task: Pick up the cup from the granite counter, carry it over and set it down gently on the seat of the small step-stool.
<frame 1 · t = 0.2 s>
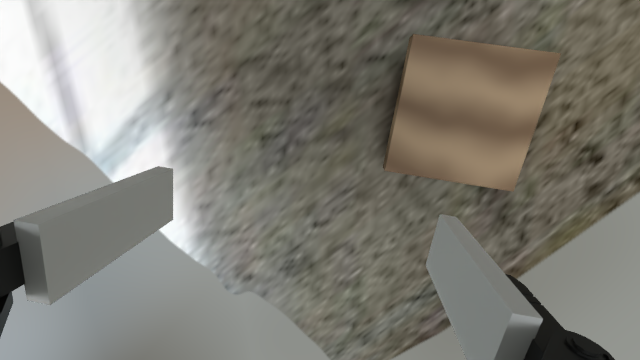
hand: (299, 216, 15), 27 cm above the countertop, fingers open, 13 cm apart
stool: (443, 112, 38), on the countertop
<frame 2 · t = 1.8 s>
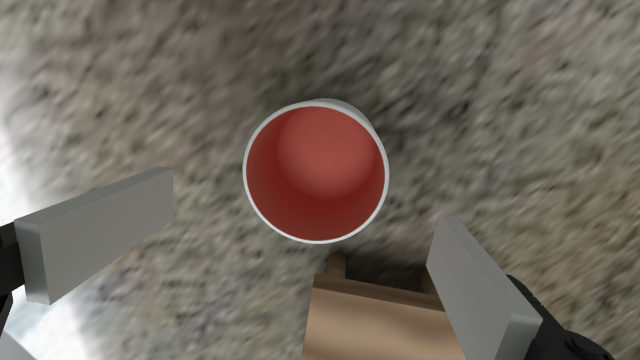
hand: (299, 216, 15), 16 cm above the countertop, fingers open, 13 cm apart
cup: (326, 149, 30), on the countertop
stool: (373, 306, 34), on the countertop
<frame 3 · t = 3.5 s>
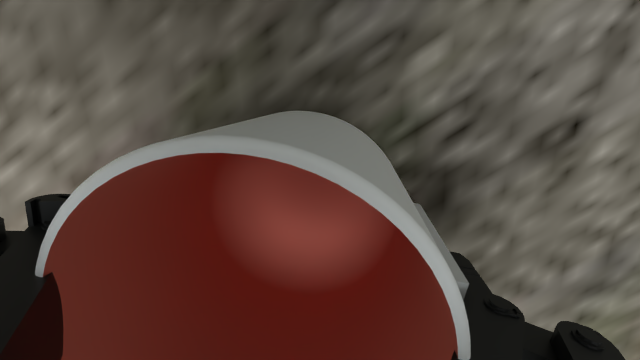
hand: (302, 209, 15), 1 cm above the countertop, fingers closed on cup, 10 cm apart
cup: (305, 202, 16), on the countertop, touching gripper
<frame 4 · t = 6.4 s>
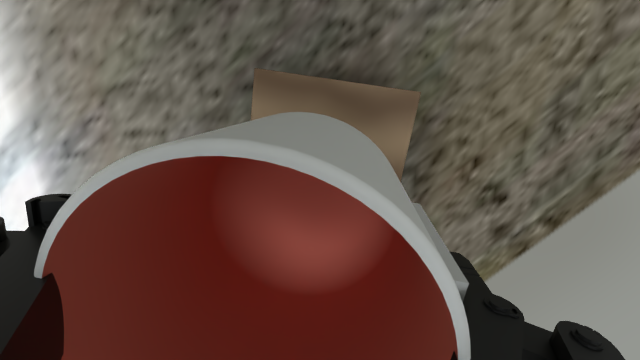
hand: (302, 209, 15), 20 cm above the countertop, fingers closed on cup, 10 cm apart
cup: (305, 203, 16), point 19 cm above the countertop, touching gripper
stool: (330, 146, 34), on the countertop
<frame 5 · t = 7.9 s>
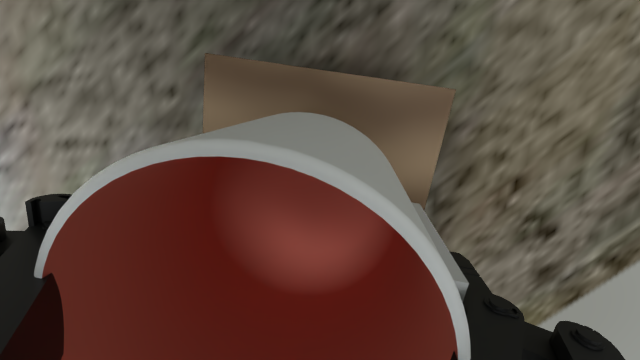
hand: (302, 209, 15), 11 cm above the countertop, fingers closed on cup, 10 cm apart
cup: (305, 203, 16), point 10 cm above the countertop, touching gripper
stool: (322, 161, 26), on the countertop
when the fingers open (10 cm above the countertop, at t = 9.1 s): cup drops 1 cm, resting on stool.
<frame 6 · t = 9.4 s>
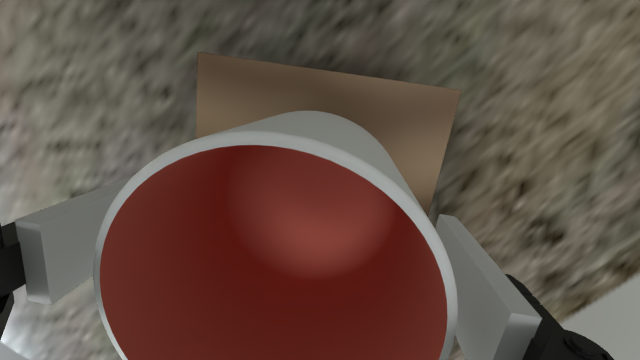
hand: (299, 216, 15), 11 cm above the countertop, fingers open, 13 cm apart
cup: (312, 195, 18), point 8 cm above the countertop, touching stool
stool: (321, 164, 25), on the countertop
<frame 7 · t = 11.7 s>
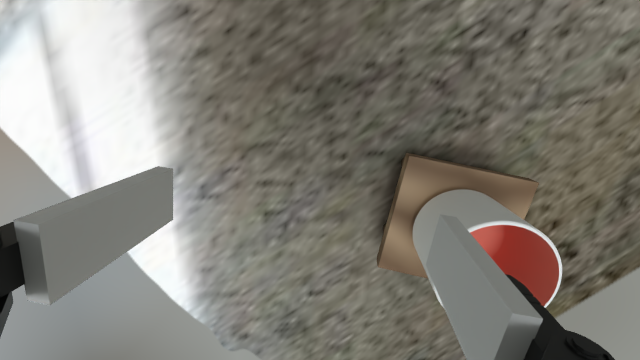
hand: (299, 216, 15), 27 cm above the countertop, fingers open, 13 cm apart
cup: (454, 227, 34), point 8 cm above the countertop, touching stool
stool: (434, 204, 42), on the countertop
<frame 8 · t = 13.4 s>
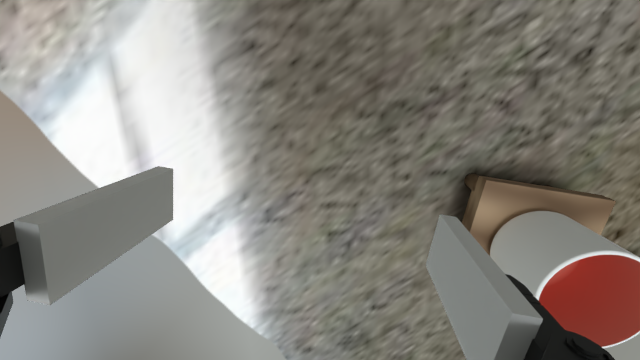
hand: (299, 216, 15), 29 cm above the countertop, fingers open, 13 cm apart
cup: (529, 245, 35), point 8 cm above the countertop, touching stool
stool: (497, 219, 43), on the countertop
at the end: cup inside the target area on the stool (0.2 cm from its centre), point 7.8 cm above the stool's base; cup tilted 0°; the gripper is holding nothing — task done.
